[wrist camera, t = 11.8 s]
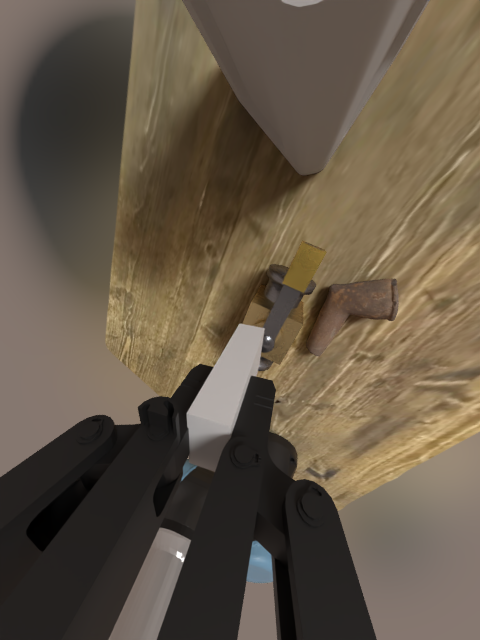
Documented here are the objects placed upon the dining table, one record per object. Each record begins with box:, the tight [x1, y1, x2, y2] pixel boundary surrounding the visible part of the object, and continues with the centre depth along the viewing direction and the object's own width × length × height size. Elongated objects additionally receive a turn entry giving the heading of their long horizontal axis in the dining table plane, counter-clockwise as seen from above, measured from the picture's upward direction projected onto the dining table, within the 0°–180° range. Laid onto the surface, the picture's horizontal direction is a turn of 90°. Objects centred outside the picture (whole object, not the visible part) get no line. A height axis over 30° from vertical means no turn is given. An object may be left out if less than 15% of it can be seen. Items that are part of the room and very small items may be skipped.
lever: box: [261, 240, 327, 353], centre depth 28 cm, size 16×3×2 cm, turn 159°
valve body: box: [242, 264, 316, 371], centre depth 36 cm, size 17×8×10 cm, turn 160°
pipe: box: [306, 279, 399, 356], centre depth 35 cm, size 6×17×10 cm
